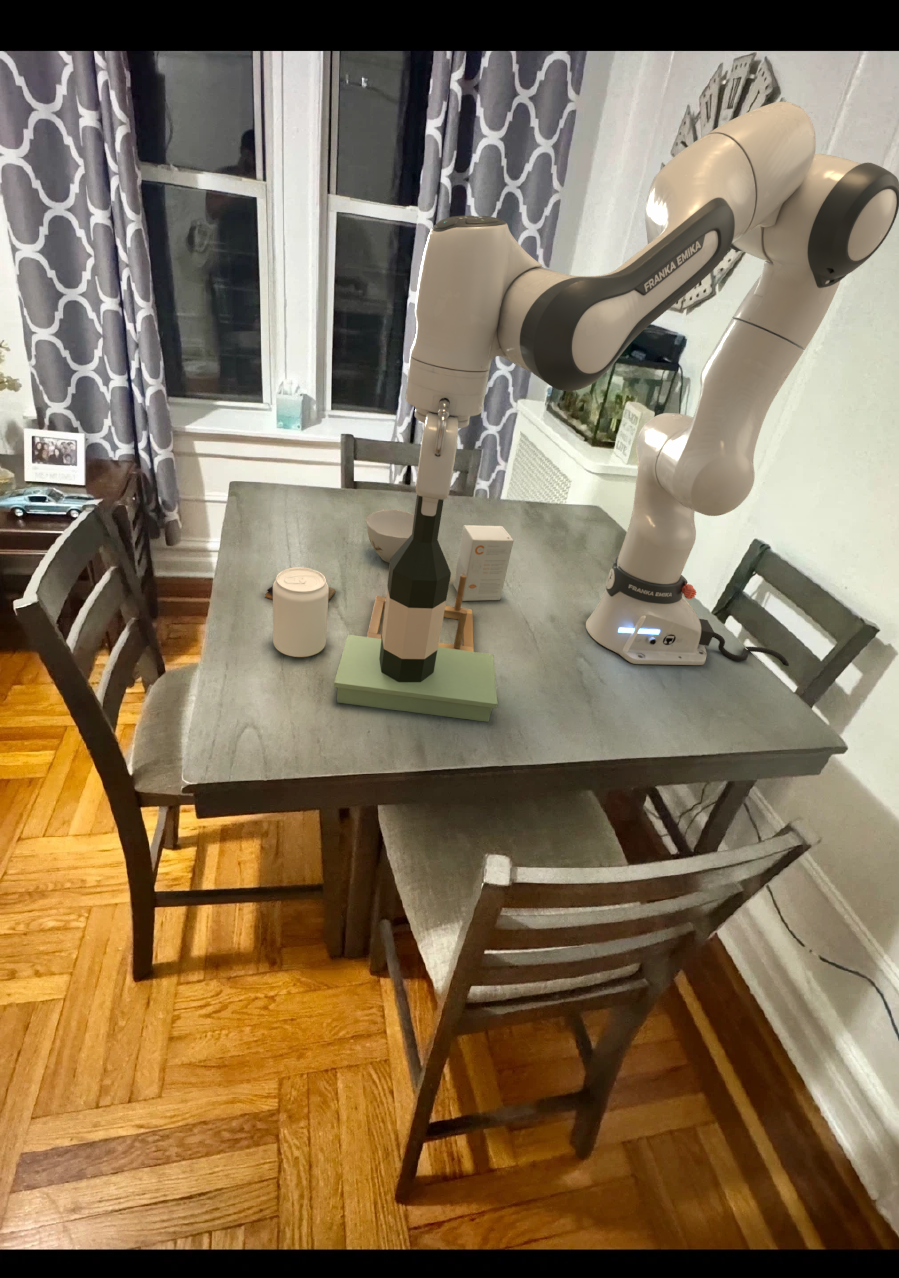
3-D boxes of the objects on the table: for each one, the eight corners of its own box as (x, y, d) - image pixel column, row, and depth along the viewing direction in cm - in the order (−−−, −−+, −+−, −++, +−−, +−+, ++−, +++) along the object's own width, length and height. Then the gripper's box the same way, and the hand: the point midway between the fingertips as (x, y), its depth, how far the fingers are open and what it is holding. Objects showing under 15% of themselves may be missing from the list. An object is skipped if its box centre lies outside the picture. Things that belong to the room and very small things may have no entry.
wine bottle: (426, 689, 85) (461, 486, 68) (370, 675, 86) (391, 470, 69) (439, 657, 92) (474, 465, 75) (387, 643, 92) (410, 450, 76)
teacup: (367, 571, 118) (370, 534, 114) (360, 542, 128) (363, 507, 124) (440, 573, 123) (446, 537, 118) (428, 545, 132) (433, 511, 128)
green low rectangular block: (488, 674, 97) (493, 654, 95) (491, 724, 87) (497, 704, 85) (346, 655, 95) (347, 634, 93) (332, 704, 85) (334, 682, 83)
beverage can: (326, 660, 93) (330, 594, 87) (272, 660, 91) (271, 592, 85) (324, 630, 100) (328, 567, 93) (274, 629, 98) (273, 564, 91)
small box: (489, 584, 122) (502, 525, 115) (500, 600, 117) (514, 540, 110) (452, 584, 119) (462, 524, 112) (461, 601, 115) (473, 539, 107)
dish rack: (470, 616, 111) (479, 575, 106) (471, 660, 99) (481, 616, 95) (375, 603, 109) (379, 561, 104) (365, 645, 98) (370, 600, 93)
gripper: (475, 418, 59) (453, 546, 66) (472, 376, 76) (454, 482, 83) (411, 407, 58) (396, 537, 66) (422, 367, 75) (409, 474, 83)
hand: (429, 506), depth 75 cm, fingers closed on wine bottle, 3 cm apart
